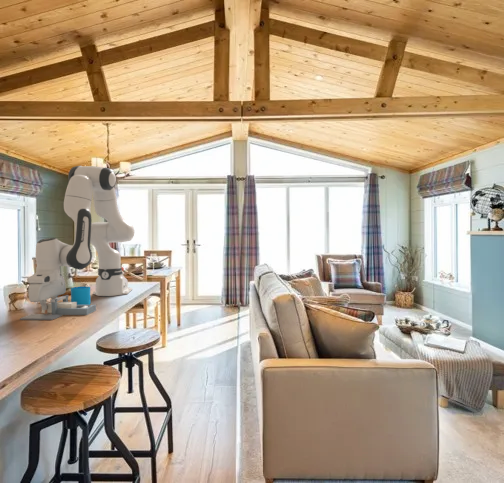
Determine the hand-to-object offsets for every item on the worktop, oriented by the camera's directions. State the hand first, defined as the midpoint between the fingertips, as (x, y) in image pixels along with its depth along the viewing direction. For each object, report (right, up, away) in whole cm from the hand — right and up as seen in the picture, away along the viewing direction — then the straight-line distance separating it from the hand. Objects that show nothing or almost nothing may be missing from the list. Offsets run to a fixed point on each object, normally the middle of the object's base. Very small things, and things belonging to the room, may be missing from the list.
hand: (49, 308), depth 151 cm
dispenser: (+11, -2, 0) cm, 11 cm away
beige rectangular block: (+4, -2, 0) cm, 5 cm away
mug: (+7, -1, +16) cm, 17 cm away
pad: (+2, -2, -9) cm, 10 cm away
